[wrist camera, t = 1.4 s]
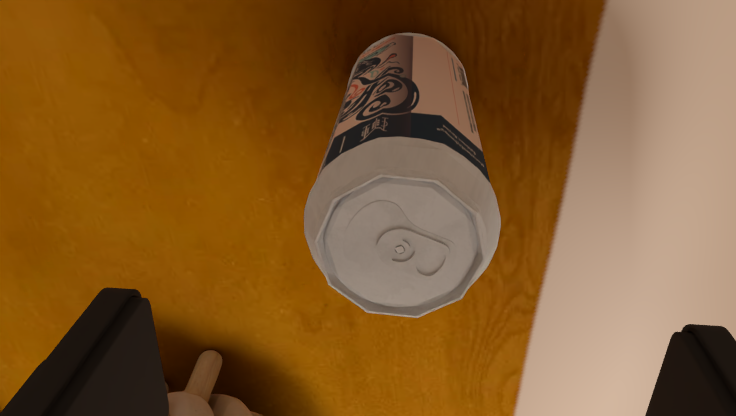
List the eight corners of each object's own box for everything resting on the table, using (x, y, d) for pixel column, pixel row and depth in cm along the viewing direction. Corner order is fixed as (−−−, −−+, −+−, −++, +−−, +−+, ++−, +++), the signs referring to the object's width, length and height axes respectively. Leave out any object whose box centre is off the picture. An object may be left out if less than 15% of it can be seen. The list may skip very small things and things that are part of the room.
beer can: (375, 9, 23) (340, 120, 12) (488, 58, 23) (546, 205, 13) (331, 118, 25) (270, 291, 15) (435, 161, 26) (448, 356, 15)
